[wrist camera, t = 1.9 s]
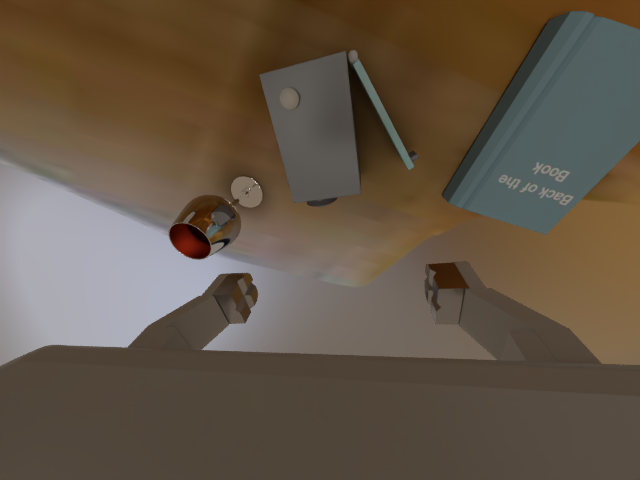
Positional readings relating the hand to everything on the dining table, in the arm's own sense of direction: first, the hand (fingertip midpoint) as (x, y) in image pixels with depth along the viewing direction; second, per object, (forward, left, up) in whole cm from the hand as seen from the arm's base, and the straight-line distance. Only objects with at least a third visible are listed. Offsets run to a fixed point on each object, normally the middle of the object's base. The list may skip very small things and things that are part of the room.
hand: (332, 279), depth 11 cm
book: (+4, +27, -33) cm, 42 cm away
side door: (-4, +5, -32) cm, 32 cm away
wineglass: (+5, -21, -32) cm, 39 cm away
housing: (-2, -4, -32) cm, 32 cm away
